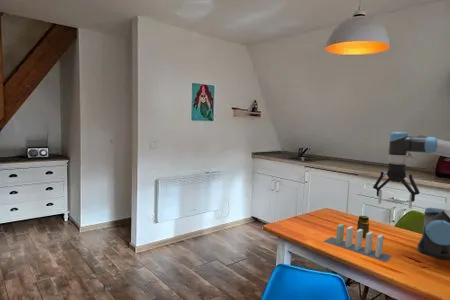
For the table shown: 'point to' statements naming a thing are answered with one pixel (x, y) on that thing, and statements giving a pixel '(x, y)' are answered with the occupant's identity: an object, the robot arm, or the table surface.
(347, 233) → the domino
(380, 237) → the domino
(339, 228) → the domino
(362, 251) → the mat
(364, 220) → the condiment
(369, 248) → the domino
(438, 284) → the table surface
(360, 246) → the domino
